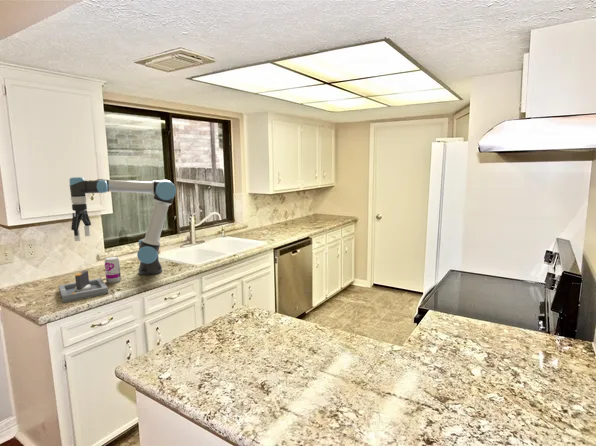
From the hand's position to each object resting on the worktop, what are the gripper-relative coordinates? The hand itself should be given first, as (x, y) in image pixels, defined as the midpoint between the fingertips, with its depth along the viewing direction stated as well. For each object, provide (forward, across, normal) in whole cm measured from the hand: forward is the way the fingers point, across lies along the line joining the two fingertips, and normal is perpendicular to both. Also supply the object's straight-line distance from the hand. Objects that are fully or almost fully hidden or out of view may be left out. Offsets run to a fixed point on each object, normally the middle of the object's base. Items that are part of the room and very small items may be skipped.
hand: (82, 238), depth 221 cm
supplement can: (+29, -4, +14) cm, 32 cm away
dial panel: (+29, +15, +4) cm, 33 cm away
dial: (+27, +15, +4) cm, 31 cm away
